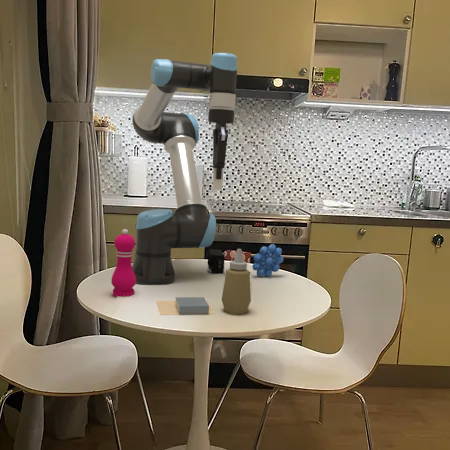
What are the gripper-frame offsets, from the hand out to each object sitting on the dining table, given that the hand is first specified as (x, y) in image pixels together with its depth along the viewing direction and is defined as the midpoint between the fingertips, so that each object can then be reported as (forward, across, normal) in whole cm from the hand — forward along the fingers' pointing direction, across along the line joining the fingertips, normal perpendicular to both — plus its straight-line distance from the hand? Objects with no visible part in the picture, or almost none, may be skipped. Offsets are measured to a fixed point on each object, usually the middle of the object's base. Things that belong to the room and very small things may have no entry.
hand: (217, 190), depth 153 cm
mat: (+32, +14, -9) cm, 36 cm away
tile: (+30, +12, -8) cm, 34 cm away
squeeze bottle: (+32, +17, +4) cm, 37 cm away
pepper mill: (+33, +1, -26) cm, 42 cm away
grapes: (+33, -24, +23) cm, 47 cm away
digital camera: (+33, -31, +5) cm, 46 cm away
